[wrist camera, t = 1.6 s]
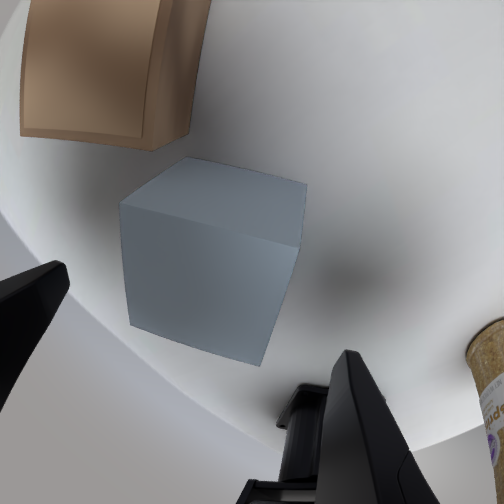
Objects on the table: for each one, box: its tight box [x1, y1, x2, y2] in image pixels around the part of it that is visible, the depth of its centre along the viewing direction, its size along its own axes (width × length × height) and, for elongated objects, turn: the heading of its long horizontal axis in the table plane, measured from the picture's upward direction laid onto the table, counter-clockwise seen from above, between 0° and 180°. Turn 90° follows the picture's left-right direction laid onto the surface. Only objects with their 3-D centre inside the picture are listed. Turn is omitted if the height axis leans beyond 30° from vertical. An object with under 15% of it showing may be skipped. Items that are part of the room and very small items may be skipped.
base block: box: [20, 0, 211, 151], centre depth 8 cm, size 7×7×3 cm
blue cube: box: [119, 157, 307, 367], centre depth 11 cm, size 5×5×5 cm
